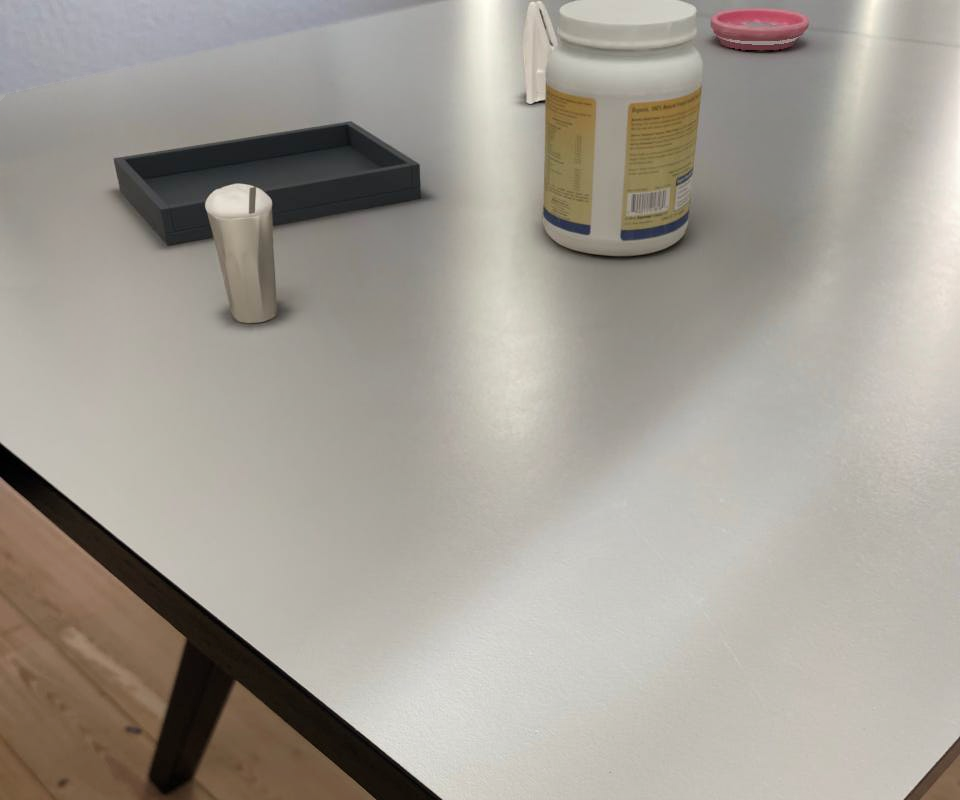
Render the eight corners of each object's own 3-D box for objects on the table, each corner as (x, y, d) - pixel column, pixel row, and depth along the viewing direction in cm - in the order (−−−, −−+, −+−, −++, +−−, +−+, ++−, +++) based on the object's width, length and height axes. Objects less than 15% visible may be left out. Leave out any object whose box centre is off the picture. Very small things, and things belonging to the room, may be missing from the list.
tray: (167, 245, 93) (160, 209, 92) (120, 191, 104) (113, 158, 102) (421, 198, 102) (419, 164, 100) (353, 152, 112) (351, 120, 111)
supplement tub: (692, 214, 98) (717, -6, 87) (679, 266, 89) (705, 28, 78) (554, 205, 100) (561, -12, 89) (528, 255, 91) (532, 21, 80)
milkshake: (242, 337, 80) (220, 193, 73) (214, 311, 83) (190, 171, 77) (300, 322, 82) (283, 181, 75) (270, 297, 85) (252, 160, 79)
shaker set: (612, 86, 131) (619, -23, 124) (627, 94, 128) (635, -16, 121) (516, 95, 128) (517, -15, 121) (528, 104, 125) (530, -8, 118)
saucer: (689, 44, 147) (691, 17, 145) (746, 29, 153) (750, 2, 151) (767, 60, 140) (771, 32, 138) (824, 43, 146) (829, 16, 144)
